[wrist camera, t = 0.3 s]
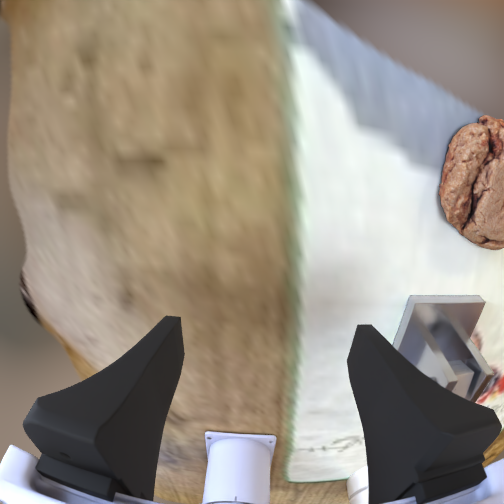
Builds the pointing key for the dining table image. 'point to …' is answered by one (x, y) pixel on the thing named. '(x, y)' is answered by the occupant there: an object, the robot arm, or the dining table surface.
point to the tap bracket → (443, 339)
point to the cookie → (476, 182)
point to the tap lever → (461, 377)
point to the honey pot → (358, 487)
